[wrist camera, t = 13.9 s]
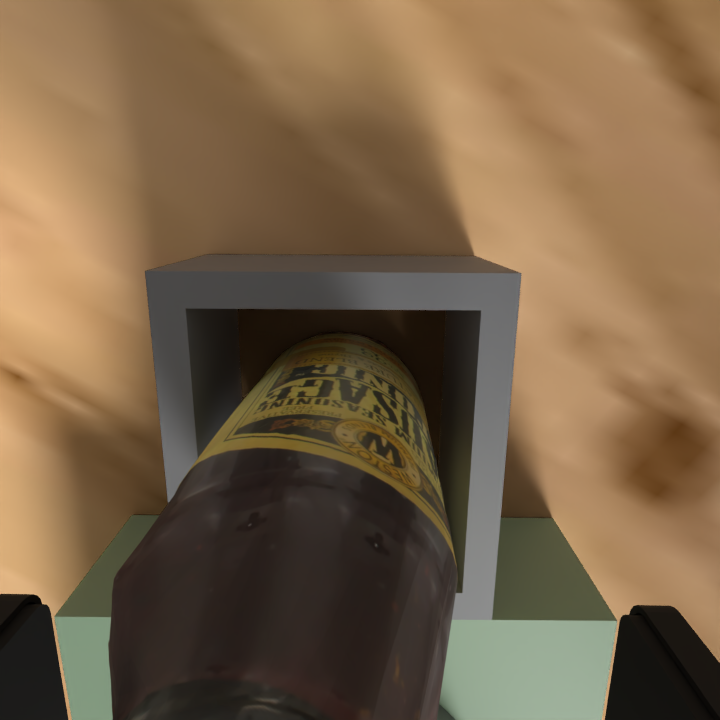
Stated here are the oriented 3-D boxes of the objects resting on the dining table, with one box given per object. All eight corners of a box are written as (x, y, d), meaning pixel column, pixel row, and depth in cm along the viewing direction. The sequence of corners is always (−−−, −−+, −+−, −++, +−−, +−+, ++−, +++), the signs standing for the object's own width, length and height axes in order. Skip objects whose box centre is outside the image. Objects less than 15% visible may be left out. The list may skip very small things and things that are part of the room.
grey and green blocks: (582, 256, 20) (751, 290, 11) (524, 768, 27) (603, 1036, 18) (100, 253, 20) (-99, 284, 11) (161, 765, 27) (65, 1032, 18)
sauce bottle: (448, 376, 21) (1220, 1891, 2) (364, 495, 23) (358, 2044, 4) (307, 288, 20) (-614, 1499, 1) (228, 417, 22) (-770, 1915, 3)
